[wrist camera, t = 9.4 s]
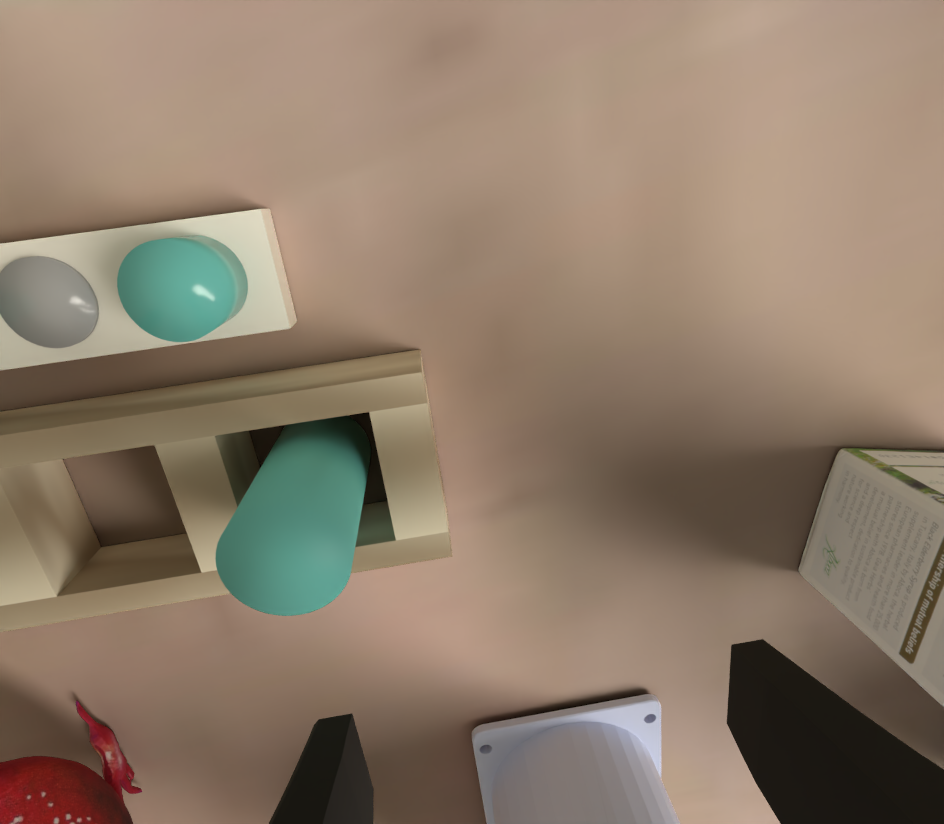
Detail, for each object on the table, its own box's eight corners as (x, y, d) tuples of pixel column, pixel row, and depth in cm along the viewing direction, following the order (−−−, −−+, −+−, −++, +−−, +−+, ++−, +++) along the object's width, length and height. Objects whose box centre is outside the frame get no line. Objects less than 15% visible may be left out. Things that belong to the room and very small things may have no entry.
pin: (379, 484, 19) (364, 603, 13) (290, 498, 19) (237, 625, 13) (360, 401, 18) (335, 493, 12) (266, 417, 18) (197, 517, 12)
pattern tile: (297, 321, 17) (273, 345, 14) (-120, 381, 16) (-233, 419, 13) (269, 208, 15) (238, 209, 13) (-181, 268, 15) (-319, 284, 12)
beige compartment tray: (447, 514, 19) (462, 639, 14) (-115, 606, 18) (-344, 781, 13) (420, 349, 17) (424, 419, 12) (-219, 444, 16) (-548, 569, 11)
